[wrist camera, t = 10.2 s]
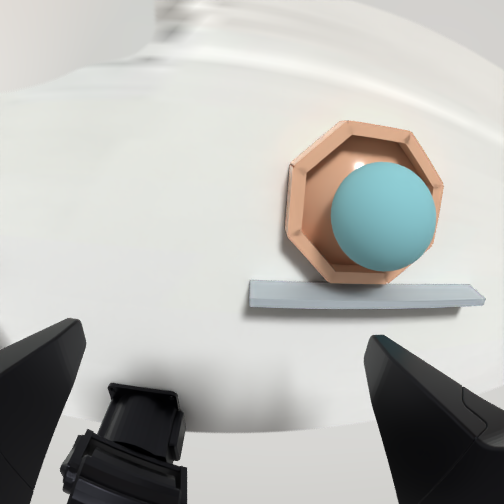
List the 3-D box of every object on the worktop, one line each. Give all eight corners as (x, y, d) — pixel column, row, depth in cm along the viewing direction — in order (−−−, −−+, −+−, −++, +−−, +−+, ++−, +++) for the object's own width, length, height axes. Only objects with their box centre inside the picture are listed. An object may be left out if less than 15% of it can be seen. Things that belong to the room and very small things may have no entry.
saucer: (280, 271, 21) (282, 281, 20) (292, 115, 18) (296, 114, 16) (414, 275, 22) (422, 284, 20) (437, 138, 18) (449, 140, 17)
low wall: (249, 287, 22) (249, 306, 20) (250, 279, 22) (249, 298, 19) (467, 290, 22) (483, 305, 20) (469, 284, 22) (485, 298, 20)
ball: (315, 246, 20) (340, 291, 15) (324, 151, 18) (358, 161, 13) (397, 250, 21) (441, 290, 15) (411, 163, 18) (465, 179, 13)
